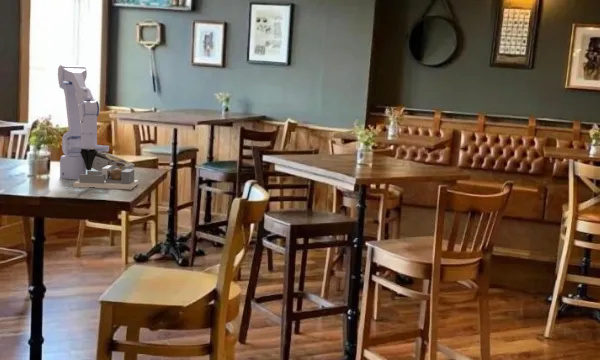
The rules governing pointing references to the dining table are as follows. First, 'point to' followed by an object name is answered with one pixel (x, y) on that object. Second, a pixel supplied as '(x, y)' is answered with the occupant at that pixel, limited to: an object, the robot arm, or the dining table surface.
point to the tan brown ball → (116, 174)
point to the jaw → (107, 171)
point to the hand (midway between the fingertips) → (88, 169)
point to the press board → (106, 180)
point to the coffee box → (110, 162)
